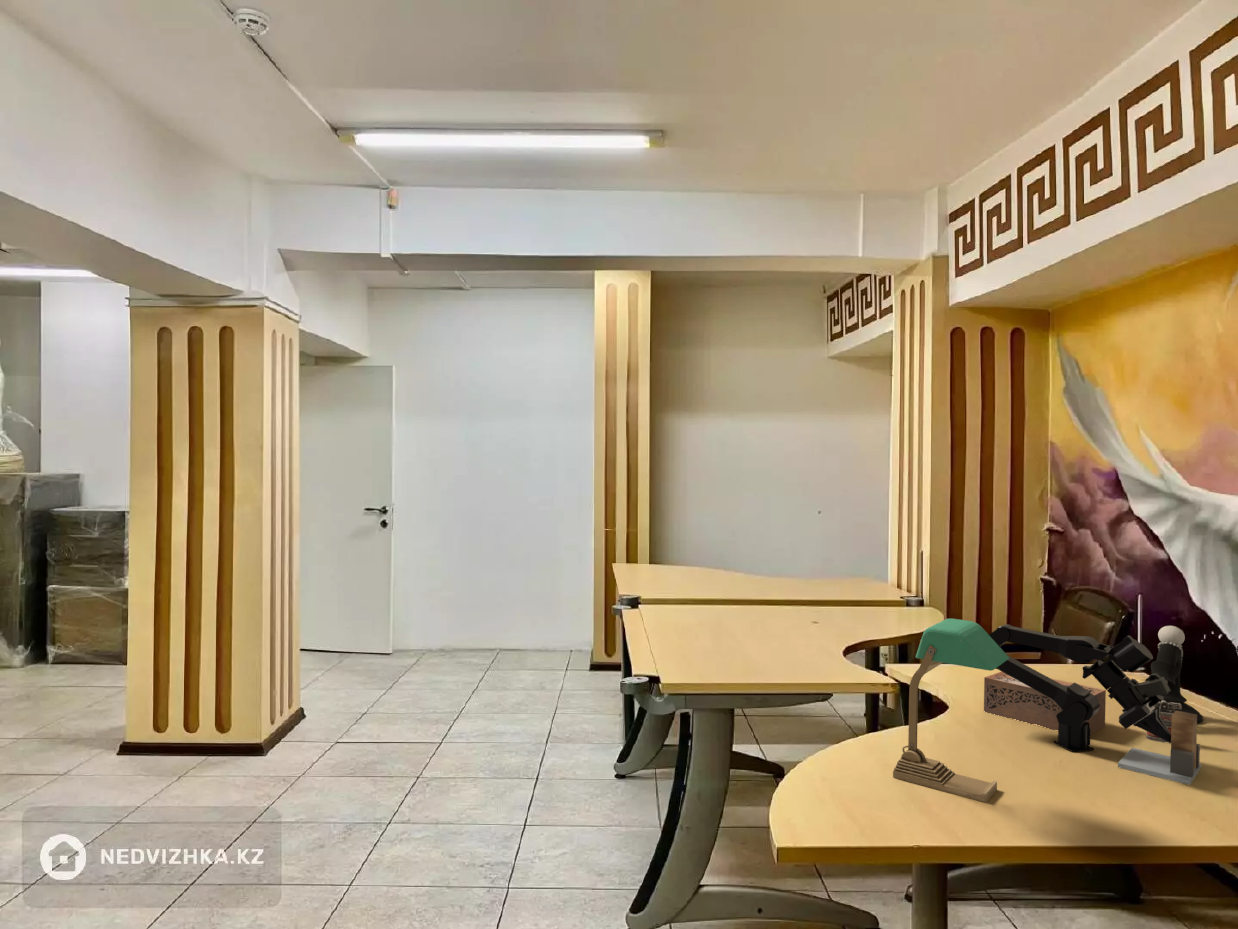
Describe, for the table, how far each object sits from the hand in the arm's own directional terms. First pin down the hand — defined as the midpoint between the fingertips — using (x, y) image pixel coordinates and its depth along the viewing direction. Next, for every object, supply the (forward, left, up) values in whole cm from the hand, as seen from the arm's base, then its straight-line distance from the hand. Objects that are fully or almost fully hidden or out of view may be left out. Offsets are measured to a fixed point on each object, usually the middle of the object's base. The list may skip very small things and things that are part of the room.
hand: (1171, 741), depth 182 cm
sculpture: (+31, +31, -7) cm, 45 cm away
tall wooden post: (+1, -2, -5) cm, 6 cm away
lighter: (+16, +17, -7) cm, 24 cm away
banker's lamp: (-56, +2, -7) cm, 57 cm away
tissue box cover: (-3, +37, -7) cm, 38 cm away
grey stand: (-1, +2, -7) cm, 7 cm away
